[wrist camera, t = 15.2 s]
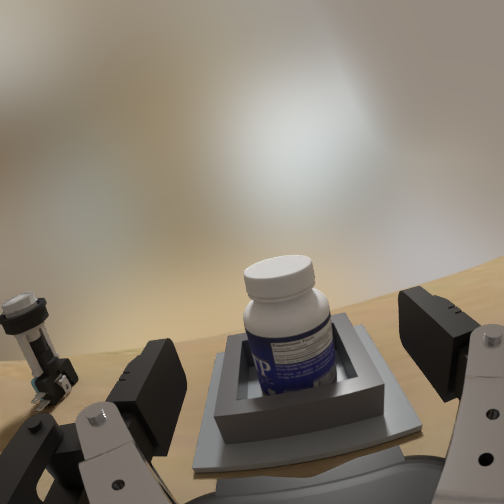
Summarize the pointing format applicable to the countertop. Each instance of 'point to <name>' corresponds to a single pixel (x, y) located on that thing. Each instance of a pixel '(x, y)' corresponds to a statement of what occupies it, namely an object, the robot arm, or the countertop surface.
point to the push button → (38, 347)
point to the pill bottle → (288, 326)
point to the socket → (301, 409)
